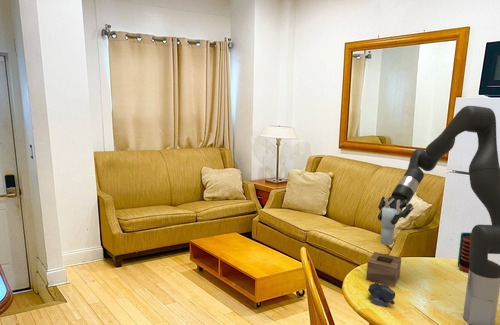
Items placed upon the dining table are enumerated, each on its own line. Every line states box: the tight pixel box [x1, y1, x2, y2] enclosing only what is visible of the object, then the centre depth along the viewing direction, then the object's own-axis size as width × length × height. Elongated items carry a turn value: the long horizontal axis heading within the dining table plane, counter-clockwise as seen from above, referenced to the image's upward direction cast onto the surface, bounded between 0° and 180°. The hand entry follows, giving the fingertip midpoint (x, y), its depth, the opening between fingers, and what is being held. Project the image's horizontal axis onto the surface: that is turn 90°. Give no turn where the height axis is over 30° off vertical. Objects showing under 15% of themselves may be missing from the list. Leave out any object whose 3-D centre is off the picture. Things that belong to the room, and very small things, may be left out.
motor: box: [456, 232, 471, 274], centre depth 167 cm, size 10×9×20 cm
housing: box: [365, 251, 402, 288], centre depth 158 cm, size 12×11×8 cm
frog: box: [367, 280, 396, 308], centre depth 139 cm, size 9×11×7 cm
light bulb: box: [379, 208, 397, 246], centre depth 155 cm, size 5×5×14 cm
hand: (385, 221), depth 154 cm, fingers closed on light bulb, 5 cm apart
